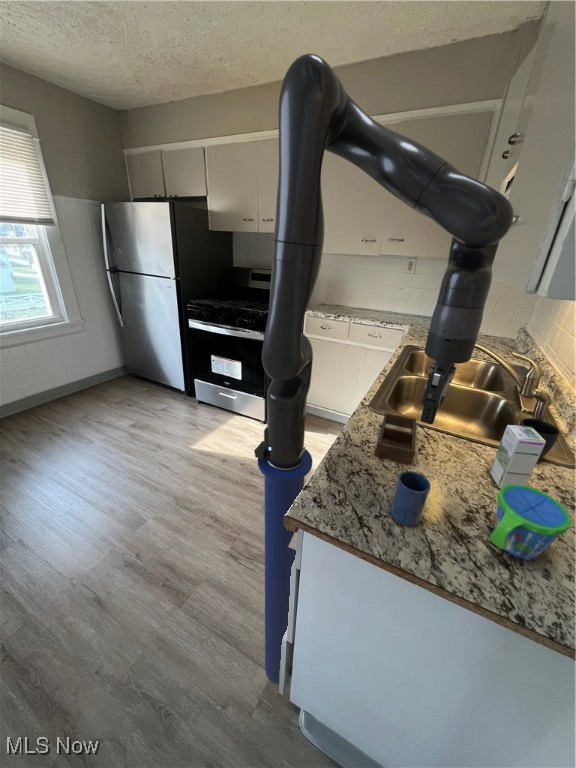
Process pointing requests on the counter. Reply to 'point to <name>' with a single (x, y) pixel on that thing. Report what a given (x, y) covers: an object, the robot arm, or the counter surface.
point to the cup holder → (397, 438)
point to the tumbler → (410, 498)
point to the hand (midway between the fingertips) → (431, 412)
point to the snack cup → (527, 521)
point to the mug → (542, 433)
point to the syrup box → (516, 456)
